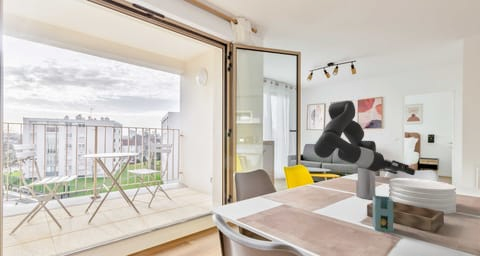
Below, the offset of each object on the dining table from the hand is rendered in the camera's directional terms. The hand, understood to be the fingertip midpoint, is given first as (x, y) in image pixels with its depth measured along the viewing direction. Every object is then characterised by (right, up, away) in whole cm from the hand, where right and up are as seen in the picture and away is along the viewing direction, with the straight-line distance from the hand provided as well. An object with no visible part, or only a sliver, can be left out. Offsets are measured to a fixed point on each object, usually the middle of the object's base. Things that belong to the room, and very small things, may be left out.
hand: (405, 172), depth 91 cm
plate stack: (+32, -24, +34) cm, 53 cm away
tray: (+8, -23, +12) cm, 27 cm away
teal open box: (-7, -23, +2) cm, 24 cm away
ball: (-7, -20, +2) cm, 22 cm away
